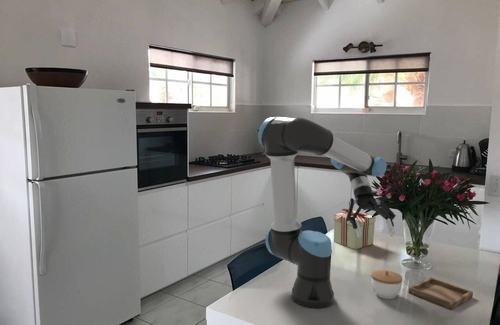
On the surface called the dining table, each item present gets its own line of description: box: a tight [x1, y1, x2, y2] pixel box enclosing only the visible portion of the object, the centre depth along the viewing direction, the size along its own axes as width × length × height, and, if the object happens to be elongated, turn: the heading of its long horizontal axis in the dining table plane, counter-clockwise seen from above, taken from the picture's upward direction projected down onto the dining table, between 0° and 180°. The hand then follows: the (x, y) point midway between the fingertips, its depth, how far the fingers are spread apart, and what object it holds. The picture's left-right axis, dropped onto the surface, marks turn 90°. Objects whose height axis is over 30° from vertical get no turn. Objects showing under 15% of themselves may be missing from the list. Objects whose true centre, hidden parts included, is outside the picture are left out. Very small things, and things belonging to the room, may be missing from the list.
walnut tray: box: [408, 277, 474, 311], centre depth 148 cm, size 16×16×2 cm
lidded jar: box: [371, 269, 403, 300], centre depth 147 cm, size 11×11×9 cm
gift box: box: [333, 208, 377, 250], centre depth 204 cm, size 17×18×17 cm
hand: (376, 235), depth 156 cm, fingers open, 13 cm apart
